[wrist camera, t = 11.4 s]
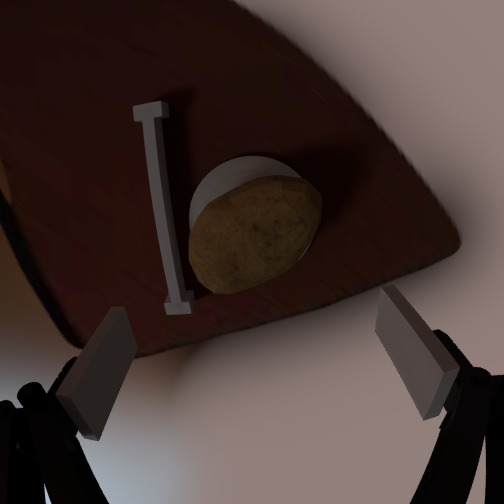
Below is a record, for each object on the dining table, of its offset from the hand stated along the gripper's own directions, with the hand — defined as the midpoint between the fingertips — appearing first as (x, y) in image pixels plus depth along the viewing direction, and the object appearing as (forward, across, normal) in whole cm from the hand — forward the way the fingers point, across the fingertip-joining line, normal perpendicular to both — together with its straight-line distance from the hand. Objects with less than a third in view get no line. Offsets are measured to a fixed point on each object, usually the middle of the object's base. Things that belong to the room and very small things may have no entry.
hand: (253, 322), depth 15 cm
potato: (+20, 0, 0) cm, 20 cm away
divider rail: (+21, -9, +2) cm, 23 cm away
